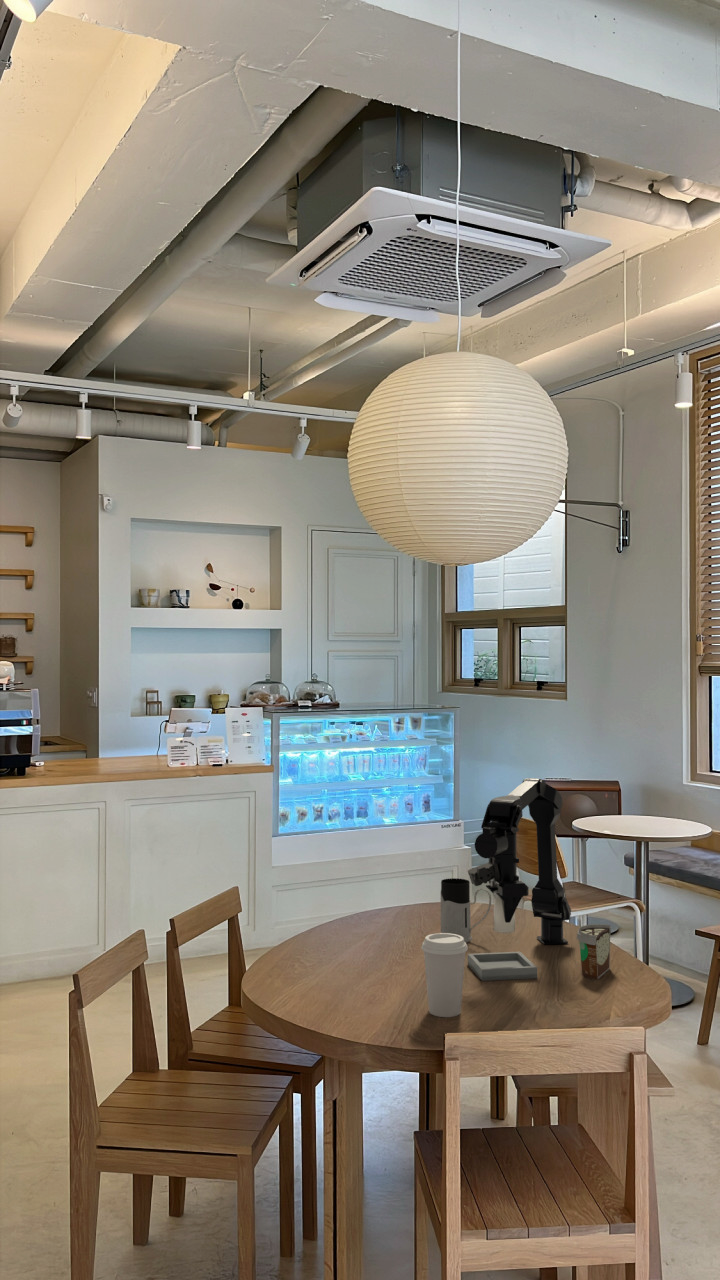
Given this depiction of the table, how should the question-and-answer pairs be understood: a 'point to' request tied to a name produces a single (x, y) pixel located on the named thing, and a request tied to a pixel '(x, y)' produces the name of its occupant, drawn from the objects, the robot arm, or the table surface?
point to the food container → (594, 949)
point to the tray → (502, 966)
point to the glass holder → (457, 907)
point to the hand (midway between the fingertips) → (504, 919)
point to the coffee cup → (444, 972)
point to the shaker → (501, 917)
